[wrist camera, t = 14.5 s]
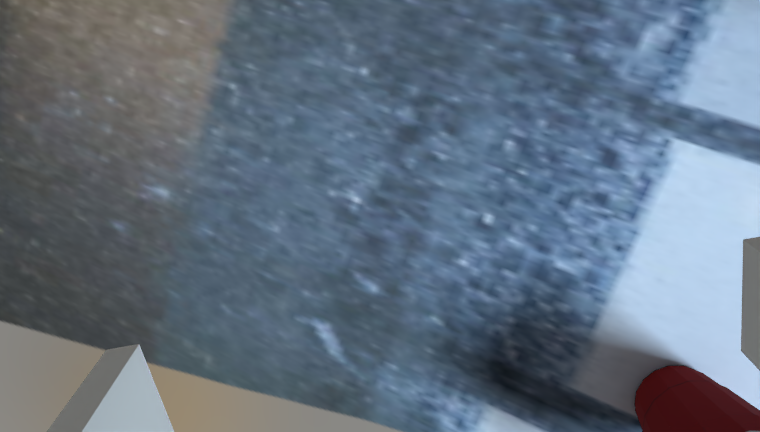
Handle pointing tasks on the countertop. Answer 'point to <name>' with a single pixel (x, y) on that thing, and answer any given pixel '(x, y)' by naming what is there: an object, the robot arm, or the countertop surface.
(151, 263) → the countertop surface
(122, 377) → the robot arm
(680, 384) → the plastic cup
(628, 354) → the countertop surface
